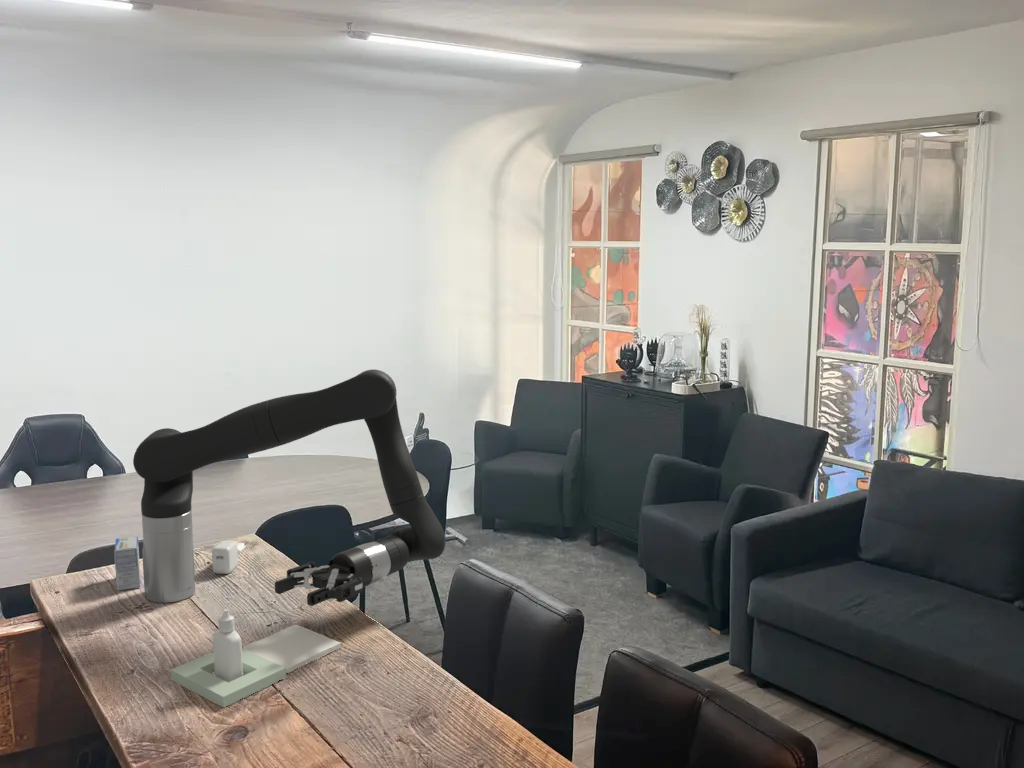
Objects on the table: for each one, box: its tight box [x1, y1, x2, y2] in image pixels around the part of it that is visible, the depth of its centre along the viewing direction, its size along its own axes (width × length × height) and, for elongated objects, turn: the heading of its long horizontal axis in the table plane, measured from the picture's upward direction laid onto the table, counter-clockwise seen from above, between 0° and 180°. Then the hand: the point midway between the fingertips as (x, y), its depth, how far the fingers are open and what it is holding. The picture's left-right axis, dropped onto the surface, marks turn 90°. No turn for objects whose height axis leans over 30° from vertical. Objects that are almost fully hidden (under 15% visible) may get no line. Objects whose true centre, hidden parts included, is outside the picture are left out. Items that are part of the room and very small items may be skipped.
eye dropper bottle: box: [212, 608, 244, 682], centre depth 150 cm, size 4×6×12 cm
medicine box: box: [113, 535, 141, 591], centre depth 189 cm, size 8×4×9 cm, turn 22°
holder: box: [170, 648, 287, 708], centre depth 151 cm, size 14×12×2 cm
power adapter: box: [211, 539, 247, 575], centre depth 200 cm, size 11×5×6 cm, turn 175°
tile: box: [242, 624, 342, 674], centre depth 161 cm, size 12×12×1 cm
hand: (292, 594), depth 159 cm, fingers open, 8 cm apart
